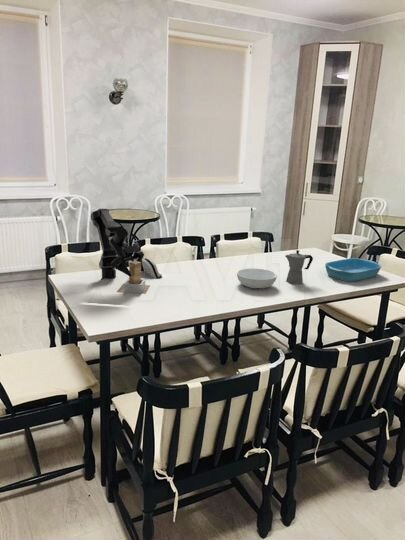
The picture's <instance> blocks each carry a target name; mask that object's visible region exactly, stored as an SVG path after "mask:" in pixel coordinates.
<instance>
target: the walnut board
mask: <svg viewBox="0 0 405 540" xmlns="http://www.w3.org/2000/svg"><path fill="white" fill-rule="evenodd" d="M150 287H151V285H148V284H145V289H144V291H143V293H142V294H143V295H146V294H147V292H148V291H149V289H150ZM116 293H125V292H124V283H122V284H121V285H120V286H119V288H118V289H117V290H116ZM138 294H139V295H140V293H138Z"/></svg>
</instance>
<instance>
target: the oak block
mask: <svg viewBox="0 0 405 540" xmlns="http://www.w3.org/2000/svg"><path fill="white" fill-rule="evenodd" d="M128 264H129V265H128V270H129V271H130V273H131V276H128V277H129V283H134V284H141V279H142V272H141V262H138V261H134V262H132V261H131V262H130V261H129V262H128Z"/></svg>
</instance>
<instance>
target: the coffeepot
mask: <svg viewBox="0 0 405 540" xmlns="http://www.w3.org/2000/svg"><path fill="white" fill-rule="evenodd" d="M295 252H296V253H294V252H293V253H289V254H286V255H284V256H285V258H286V259H287V261H288V267H289V269H288V272H287V277H286V279H285V280H286V282H287V283H288V284H292V285H302V284H303V282H304V280H303V278H304V277H303V268H304V270H309V268H310V267H311V264H312V263H313V260H314V257H313V256H312V255H311V254H301V253H300V250H298V249H297V250H295ZM306 259H309V260H308V262H307V265H306V267H304V263H305V260H306Z"/></svg>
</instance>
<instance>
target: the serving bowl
mask: <svg viewBox="0 0 405 540" xmlns="http://www.w3.org/2000/svg"><path fill="white" fill-rule="evenodd" d="M277 277H278V274H277V273H276V272H274V271H271V270H269V269H264V268H253V267H252V268H251V267H250V268H243V269H240V270H237V272H236V278H237V280H238V281H239V283H240V284H242V285H243V286H245V287H247V288H250V289H257V288H259V289H264V288H269V287H271V286H273V285H274V284H275V282H276V280H277Z"/></svg>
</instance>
